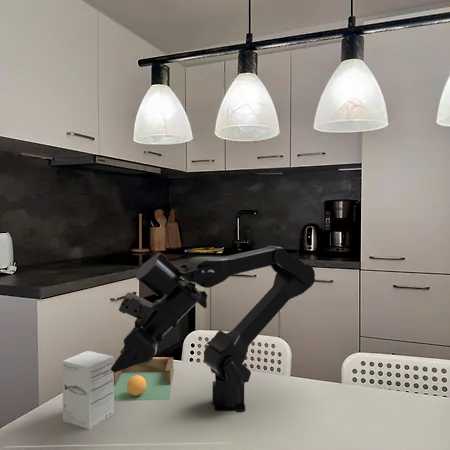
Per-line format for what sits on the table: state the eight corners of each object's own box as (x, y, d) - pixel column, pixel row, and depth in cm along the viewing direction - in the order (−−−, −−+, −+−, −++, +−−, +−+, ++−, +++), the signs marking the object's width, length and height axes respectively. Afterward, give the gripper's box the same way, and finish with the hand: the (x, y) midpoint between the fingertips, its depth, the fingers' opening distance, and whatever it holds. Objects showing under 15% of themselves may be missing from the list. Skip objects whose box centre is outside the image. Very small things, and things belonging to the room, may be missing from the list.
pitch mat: (174, 370, 113) (174, 368, 112) (168, 400, 95) (168, 399, 95) (119, 370, 112) (119, 369, 112) (103, 401, 94) (102, 400, 94)
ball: (147, 390, 99) (147, 372, 99) (144, 399, 95) (144, 379, 94) (128, 390, 99) (128, 372, 99) (125, 399, 94) (124, 380, 94)
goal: (173, 370, 112) (173, 357, 111) (170, 384, 102) (170, 370, 102) (118, 370, 111) (118, 357, 111) (110, 385, 102) (110, 371, 102)
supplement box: (61, 422, 85) (60, 360, 84) (89, 407, 91) (88, 349, 91) (88, 431, 81) (88, 366, 81) (115, 415, 88) (115, 355, 87)
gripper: (149, 273, 95) (100, 322, 95) (136, 288, 76) (74, 349, 76) (184, 307, 96) (135, 356, 96) (180, 331, 77) (118, 392, 77)
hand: (117, 362), depth 86 cm, fingers open, 9 cm apart
